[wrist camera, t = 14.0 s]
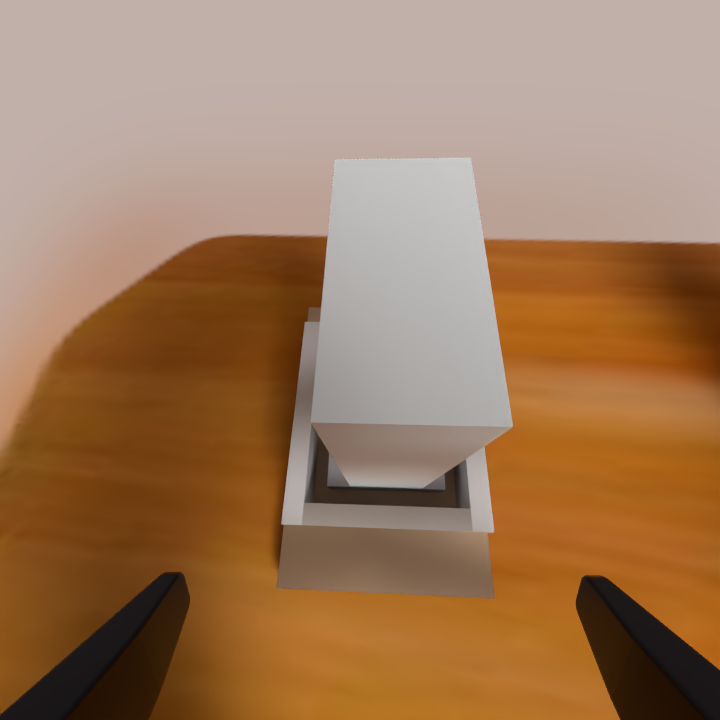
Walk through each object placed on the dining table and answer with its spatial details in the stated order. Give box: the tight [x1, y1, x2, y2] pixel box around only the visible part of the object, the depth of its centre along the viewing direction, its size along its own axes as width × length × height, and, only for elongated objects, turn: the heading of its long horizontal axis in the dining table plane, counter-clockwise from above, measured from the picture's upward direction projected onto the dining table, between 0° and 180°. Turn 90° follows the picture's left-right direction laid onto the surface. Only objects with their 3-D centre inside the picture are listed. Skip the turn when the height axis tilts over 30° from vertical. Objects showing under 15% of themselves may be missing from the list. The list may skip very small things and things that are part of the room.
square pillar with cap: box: [311, 158, 513, 492], centre depth 12 cm, size 7×5×12 cm
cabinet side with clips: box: [277, 307, 495, 598], centre depth 17 cm, size 14×9×4 cm, turn 178°
